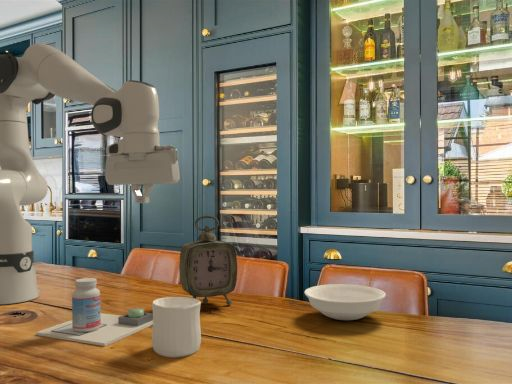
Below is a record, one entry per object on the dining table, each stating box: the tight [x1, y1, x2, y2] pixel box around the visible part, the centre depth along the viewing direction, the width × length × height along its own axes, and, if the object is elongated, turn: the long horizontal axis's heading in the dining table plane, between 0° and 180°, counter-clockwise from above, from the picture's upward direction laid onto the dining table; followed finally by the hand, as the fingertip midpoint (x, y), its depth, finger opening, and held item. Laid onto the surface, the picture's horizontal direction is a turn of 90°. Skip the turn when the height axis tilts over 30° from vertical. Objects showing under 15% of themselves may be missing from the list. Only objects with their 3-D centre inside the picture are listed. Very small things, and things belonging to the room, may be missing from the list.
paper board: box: [35, 312, 153, 347], centre depth 107 cm, size 20×18×1 cm
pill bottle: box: [71, 277, 102, 332], centre depth 105 cm, size 6×6×11 cm
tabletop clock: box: [178, 215, 238, 306], centre depth 127 cm, size 14×9×25 cm, turn 114°
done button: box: [127, 307, 145, 318], centre depth 110 cm, size 4×4×2 cm
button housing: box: [118, 311, 153, 326], centre depth 110 cm, size 6×6×2 cm
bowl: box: [304, 283, 387, 321], centre depth 113 cm, size 20×20×6 cm
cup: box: [151, 296, 202, 358], centre depth 92 cm, size 10×10×10 cm
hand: (142, 203), depth 113 cm, fingers closed
